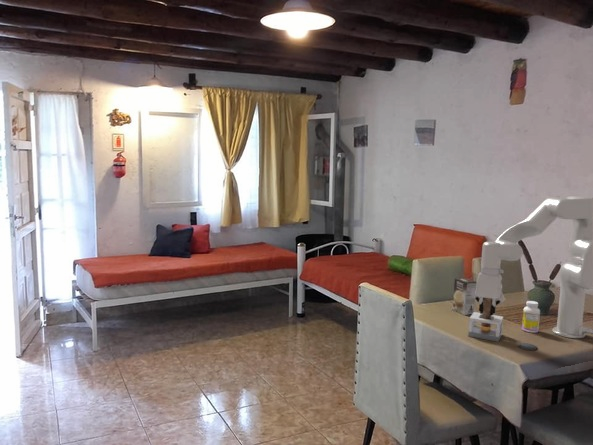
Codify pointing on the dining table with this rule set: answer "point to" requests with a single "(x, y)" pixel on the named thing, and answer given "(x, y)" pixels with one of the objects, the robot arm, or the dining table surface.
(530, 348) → the mat
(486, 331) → the orange hemisphere
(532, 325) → the supplement bottle
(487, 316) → the brown wooden rod
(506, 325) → the dining table surface
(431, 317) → the dining table surface
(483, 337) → the white hollow box
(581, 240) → the robot arm
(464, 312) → the coffee box
